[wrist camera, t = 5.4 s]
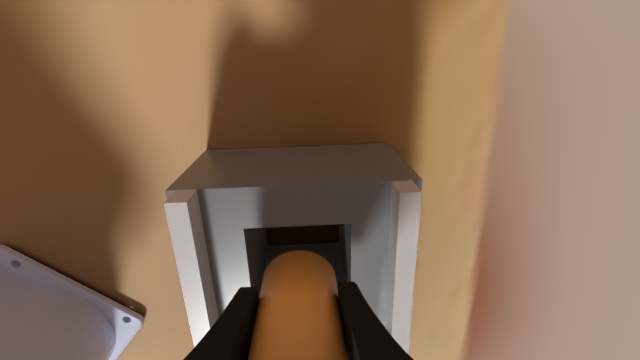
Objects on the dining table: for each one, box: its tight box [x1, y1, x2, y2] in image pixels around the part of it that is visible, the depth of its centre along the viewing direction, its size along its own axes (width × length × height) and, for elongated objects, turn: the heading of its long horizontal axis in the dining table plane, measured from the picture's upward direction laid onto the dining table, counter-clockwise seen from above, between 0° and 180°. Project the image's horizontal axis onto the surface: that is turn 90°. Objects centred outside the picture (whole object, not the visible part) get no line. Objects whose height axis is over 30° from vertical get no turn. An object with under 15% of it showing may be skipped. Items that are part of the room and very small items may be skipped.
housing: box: [164, 143, 422, 354], centre depth 18 cm, size 16×10×7 cm, turn 2°
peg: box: [248, 250, 347, 360], centre depth 12 cm, size 3×3×5 cm
